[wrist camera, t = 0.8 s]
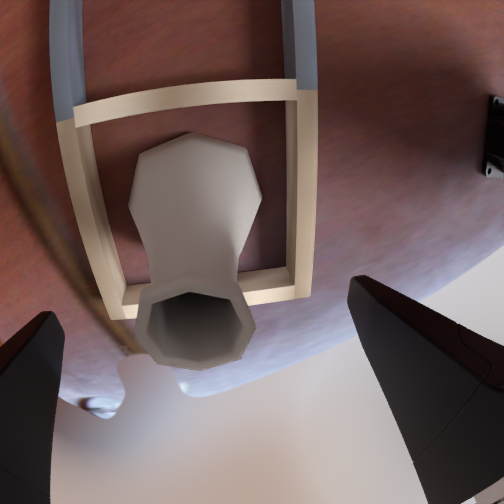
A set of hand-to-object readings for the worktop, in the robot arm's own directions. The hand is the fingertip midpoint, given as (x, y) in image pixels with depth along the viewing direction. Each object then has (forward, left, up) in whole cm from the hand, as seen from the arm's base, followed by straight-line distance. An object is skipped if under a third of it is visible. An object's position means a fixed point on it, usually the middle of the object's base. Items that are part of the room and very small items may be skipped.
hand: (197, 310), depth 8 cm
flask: (0, 0, -9) cm, 9 cm away
